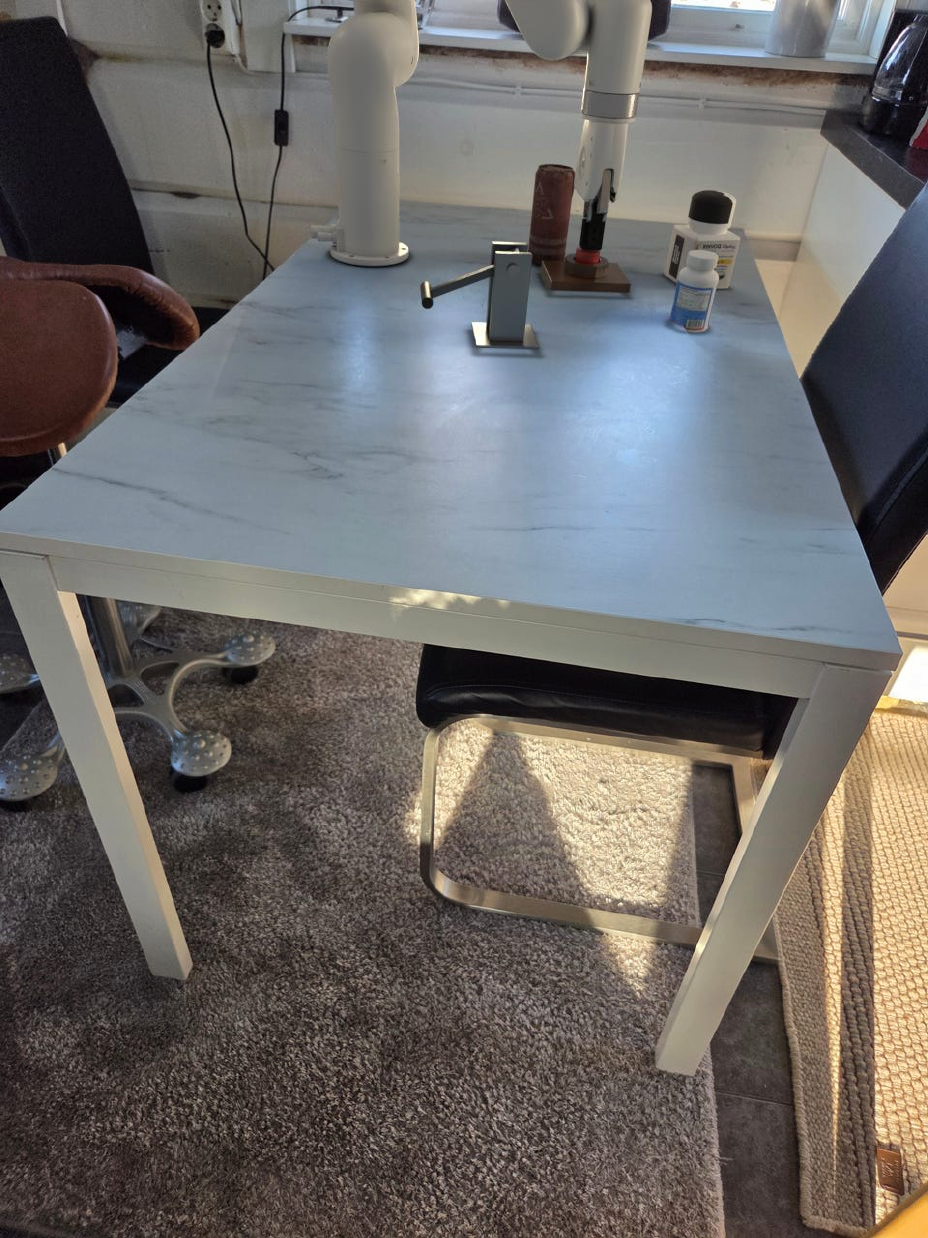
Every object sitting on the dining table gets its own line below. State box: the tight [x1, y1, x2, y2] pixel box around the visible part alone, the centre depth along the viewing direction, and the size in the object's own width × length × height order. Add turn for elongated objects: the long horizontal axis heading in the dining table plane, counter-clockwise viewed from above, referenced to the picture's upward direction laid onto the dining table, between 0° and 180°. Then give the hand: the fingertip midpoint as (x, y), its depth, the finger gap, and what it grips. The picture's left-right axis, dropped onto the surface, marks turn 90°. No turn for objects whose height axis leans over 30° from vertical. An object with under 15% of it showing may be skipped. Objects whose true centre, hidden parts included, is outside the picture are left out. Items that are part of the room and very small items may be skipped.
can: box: [527, 163, 576, 267], centre depth 132 cm, size 6×6×14 cm
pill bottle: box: [669, 250, 719, 334], centre depth 113 cm, size 6×5×10 cm
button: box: [575, 246, 601, 264], centre depth 125 cm, size 4×4×2 cm
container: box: [663, 189, 741, 290], centre depth 128 cm, size 8×8×13 cm
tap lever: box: [419, 247, 519, 310], centre depth 102 cm, size 13×6×2 cm, turn 94°
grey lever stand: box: [471, 241, 540, 350], centre depth 104 cm, size 8×8×12 cm
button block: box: [540, 252, 632, 294], centre depth 126 cm, size 12×10×4 cm
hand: (590, 248), depth 124 cm, fingers closed
